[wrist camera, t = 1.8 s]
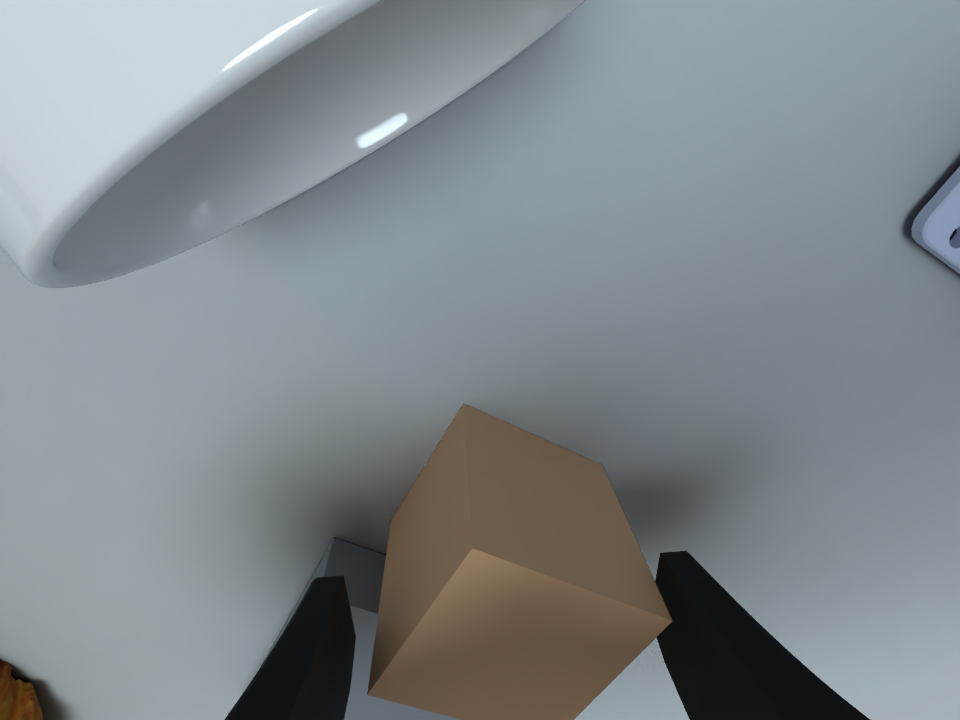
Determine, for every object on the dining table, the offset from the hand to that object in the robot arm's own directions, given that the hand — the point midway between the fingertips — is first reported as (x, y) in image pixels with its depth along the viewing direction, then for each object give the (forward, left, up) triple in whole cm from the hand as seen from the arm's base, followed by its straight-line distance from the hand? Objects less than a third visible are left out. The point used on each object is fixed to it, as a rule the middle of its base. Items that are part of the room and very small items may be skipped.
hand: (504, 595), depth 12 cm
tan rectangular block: (0, 0, -4) cm, 4 cm away
